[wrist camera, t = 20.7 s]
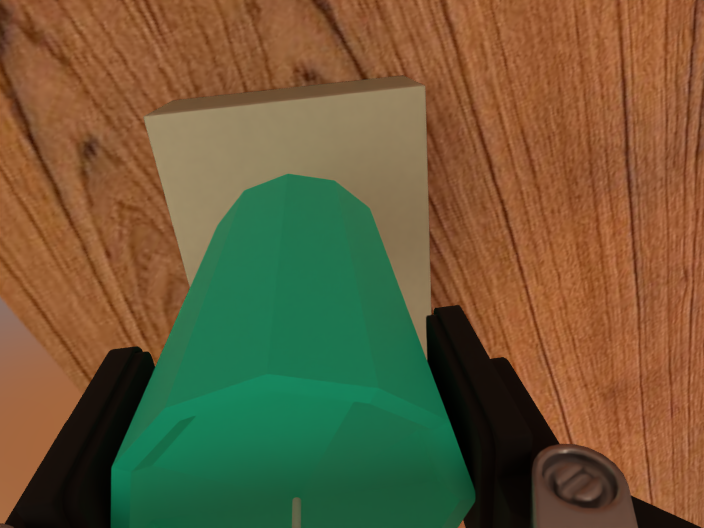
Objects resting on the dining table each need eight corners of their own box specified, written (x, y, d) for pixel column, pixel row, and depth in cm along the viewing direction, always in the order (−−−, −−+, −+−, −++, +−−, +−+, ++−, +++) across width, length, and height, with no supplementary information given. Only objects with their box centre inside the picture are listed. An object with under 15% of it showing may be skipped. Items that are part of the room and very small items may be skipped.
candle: (285, 354, 19) (262, 777, 8) (175, 240, 17) (-58, 628, 6) (415, 270, 18) (582, 631, 7) (317, 136, 16) (349, 375, 5)
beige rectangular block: (239, 379, 33) (229, 435, 28) (171, 100, 25) (142, 116, 20) (416, 356, 33) (433, 407, 29) (404, 75, 25) (425, 85, 21)
